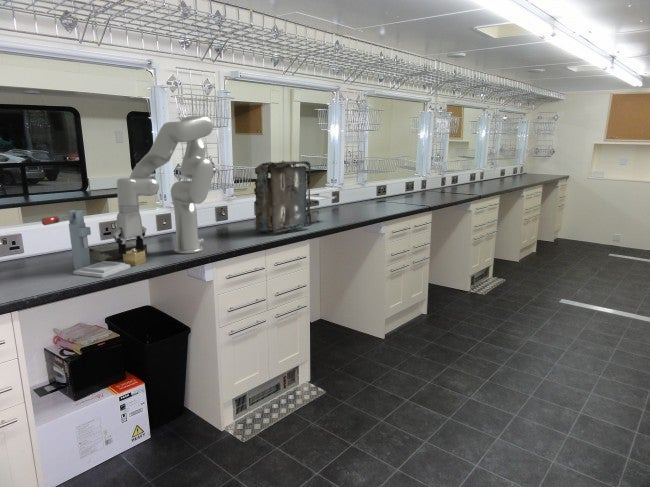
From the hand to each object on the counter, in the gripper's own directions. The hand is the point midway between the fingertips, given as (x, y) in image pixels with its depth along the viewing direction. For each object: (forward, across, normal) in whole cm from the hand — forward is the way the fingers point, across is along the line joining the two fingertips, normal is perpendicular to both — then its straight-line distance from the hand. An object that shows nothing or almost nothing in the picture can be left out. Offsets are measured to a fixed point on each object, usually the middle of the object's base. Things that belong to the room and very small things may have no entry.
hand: (131, 251), depth 184 cm
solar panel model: (+1, -116, +32) cm, 121 cm away
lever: (-14, +19, -14) cm, 27 cm away
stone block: (+6, -9, -15) cm, 19 cm away
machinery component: (+2, -80, +28) cm, 85 cm away
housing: (+5, -1, 0) cm, 5 cm away
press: (+6, +12, -7) cm, 15 cm away
